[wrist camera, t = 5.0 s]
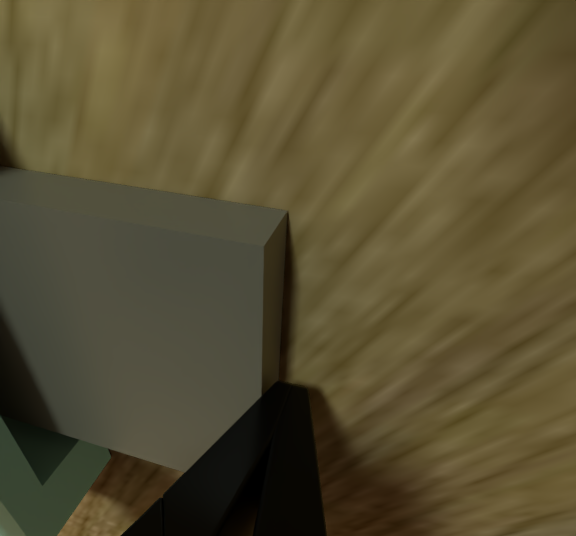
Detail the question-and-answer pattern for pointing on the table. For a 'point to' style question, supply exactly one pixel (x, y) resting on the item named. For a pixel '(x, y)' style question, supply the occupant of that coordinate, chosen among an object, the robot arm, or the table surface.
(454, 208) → the table surface
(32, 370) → the thin grey plate
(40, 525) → the overhang
